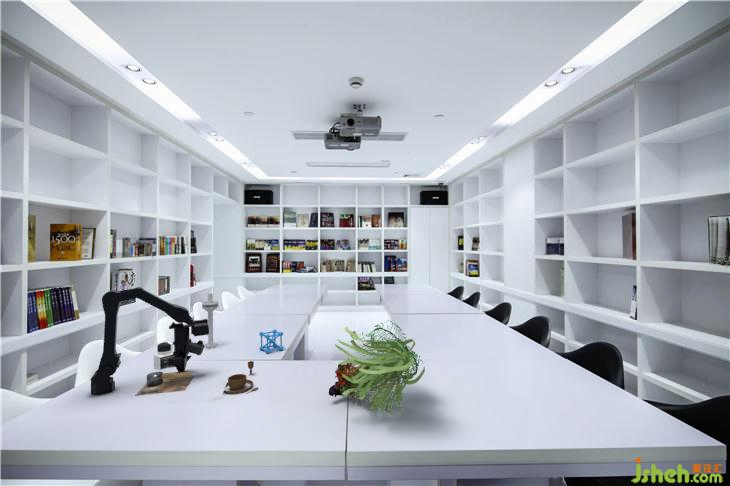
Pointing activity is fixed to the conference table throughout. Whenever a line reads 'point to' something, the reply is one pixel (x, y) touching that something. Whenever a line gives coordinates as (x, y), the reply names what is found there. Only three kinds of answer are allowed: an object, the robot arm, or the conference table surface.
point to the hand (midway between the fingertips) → (182, 375)
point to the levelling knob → (164, 377)
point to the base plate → (167, 386)
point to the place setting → (240, 382)
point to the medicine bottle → (163, 355)
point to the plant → (377, 369)
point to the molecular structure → (271, 341)
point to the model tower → (210, 318)
